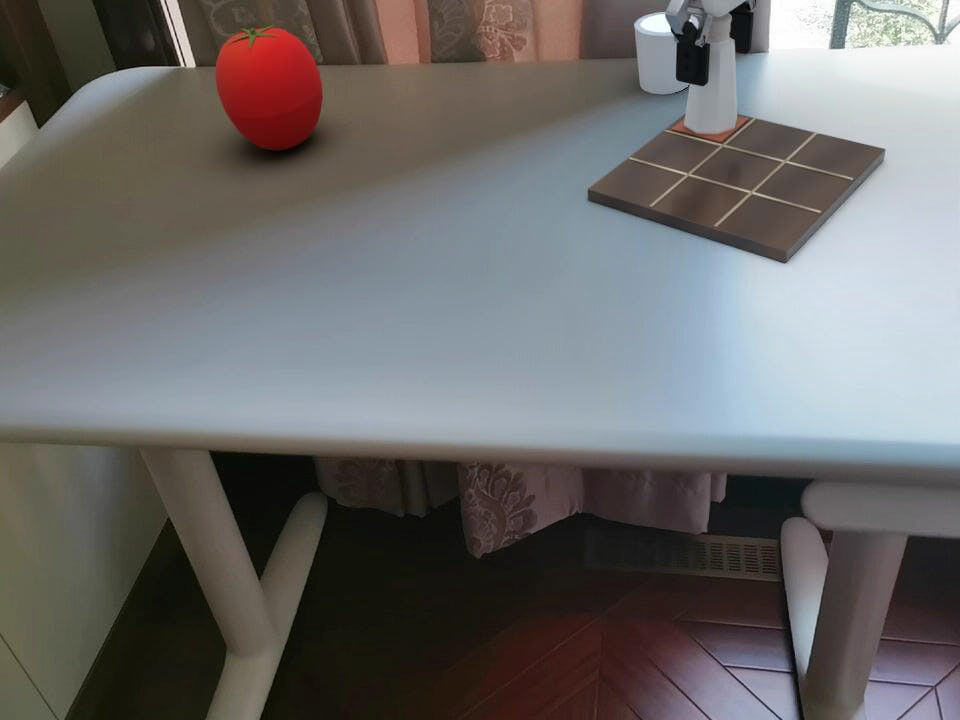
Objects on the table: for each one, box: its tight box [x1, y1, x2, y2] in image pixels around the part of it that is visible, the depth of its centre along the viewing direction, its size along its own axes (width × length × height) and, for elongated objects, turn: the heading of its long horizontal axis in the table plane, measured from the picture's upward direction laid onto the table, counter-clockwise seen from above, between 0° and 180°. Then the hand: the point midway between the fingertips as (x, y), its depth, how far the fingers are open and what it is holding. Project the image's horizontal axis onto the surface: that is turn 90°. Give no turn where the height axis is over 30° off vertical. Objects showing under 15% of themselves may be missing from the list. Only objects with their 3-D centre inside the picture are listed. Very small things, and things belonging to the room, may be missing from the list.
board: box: [587, 113, 886, 264], centre depth 90 cm, size 20×20×1 cm
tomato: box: [214, 24, 324, 151], centre depth 102 cm, size 11×11×13 cm
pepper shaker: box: [684, 13, 738, 135], centre depth 93 cm, size 5×5×11 cm
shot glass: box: [633, 11, 700, 95], centre depth 106 cm, size 7×7×7 cm
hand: (713, 65), depth 93 cm, fingers open, 7 cm apart
